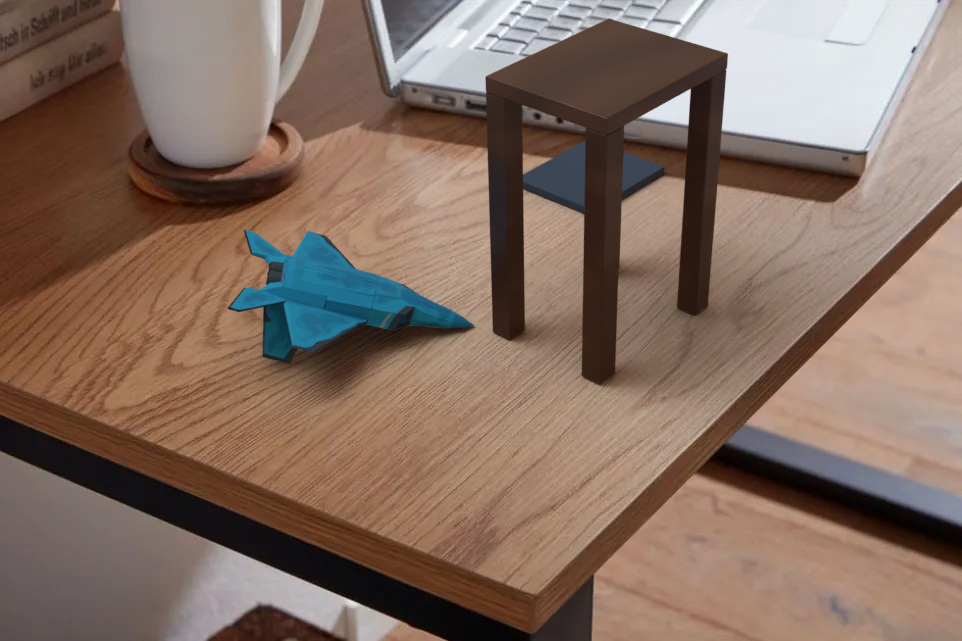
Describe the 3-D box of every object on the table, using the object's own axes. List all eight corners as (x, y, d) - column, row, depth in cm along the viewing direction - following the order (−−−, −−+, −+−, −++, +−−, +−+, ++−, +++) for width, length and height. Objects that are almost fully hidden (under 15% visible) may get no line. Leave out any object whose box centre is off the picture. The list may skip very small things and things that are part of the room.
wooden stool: (708, 306, 69) (728, 53, 62) (600, 385, 64) (607, 118, 56) (602, 261, 73) (608, 17, 66) (492, 332, 68) (484, 75, 60)
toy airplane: (276, 415, 63) (267, 343, 60) (182, 322, 69) (171, 253, 67) (475, 328, 69) (474, 259, 66) (371, 250, 75) (367, 184, 73)
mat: (664, 173, 82) (664, 166, 81) (592, 217, 78) (592, 209, 77) (588, 145, 85) (588, 138, 85) (515, 185, 81) (515, 178, 81)
